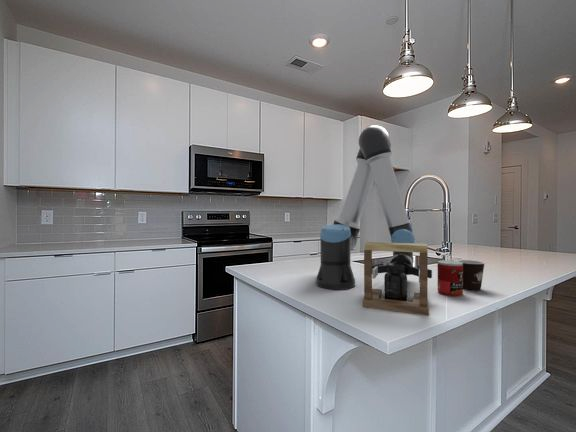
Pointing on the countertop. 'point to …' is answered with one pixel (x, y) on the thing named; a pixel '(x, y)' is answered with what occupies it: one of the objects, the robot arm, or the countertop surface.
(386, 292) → the supplement bottle
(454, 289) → the canned food
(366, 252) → the notched shelf
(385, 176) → the robot arm
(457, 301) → the countertop surface
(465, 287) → the coffee mug
